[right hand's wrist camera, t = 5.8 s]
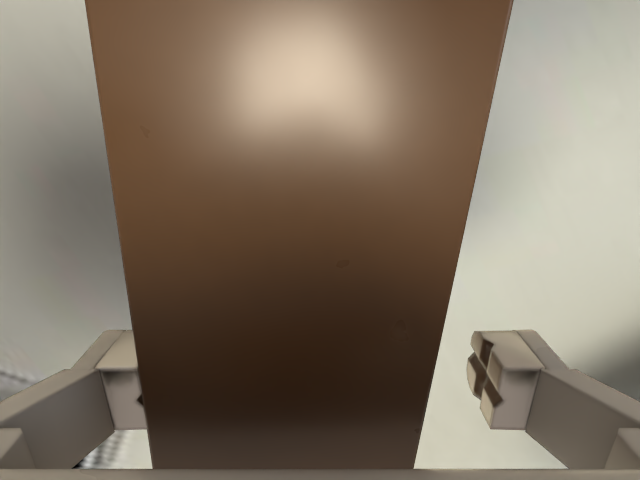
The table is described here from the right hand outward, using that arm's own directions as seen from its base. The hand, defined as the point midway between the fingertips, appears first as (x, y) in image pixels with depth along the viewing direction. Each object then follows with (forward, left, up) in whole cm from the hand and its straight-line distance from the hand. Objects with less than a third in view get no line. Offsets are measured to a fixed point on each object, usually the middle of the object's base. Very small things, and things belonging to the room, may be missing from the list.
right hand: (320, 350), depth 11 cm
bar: (+2, +9, -6) cm, 11 cm away
